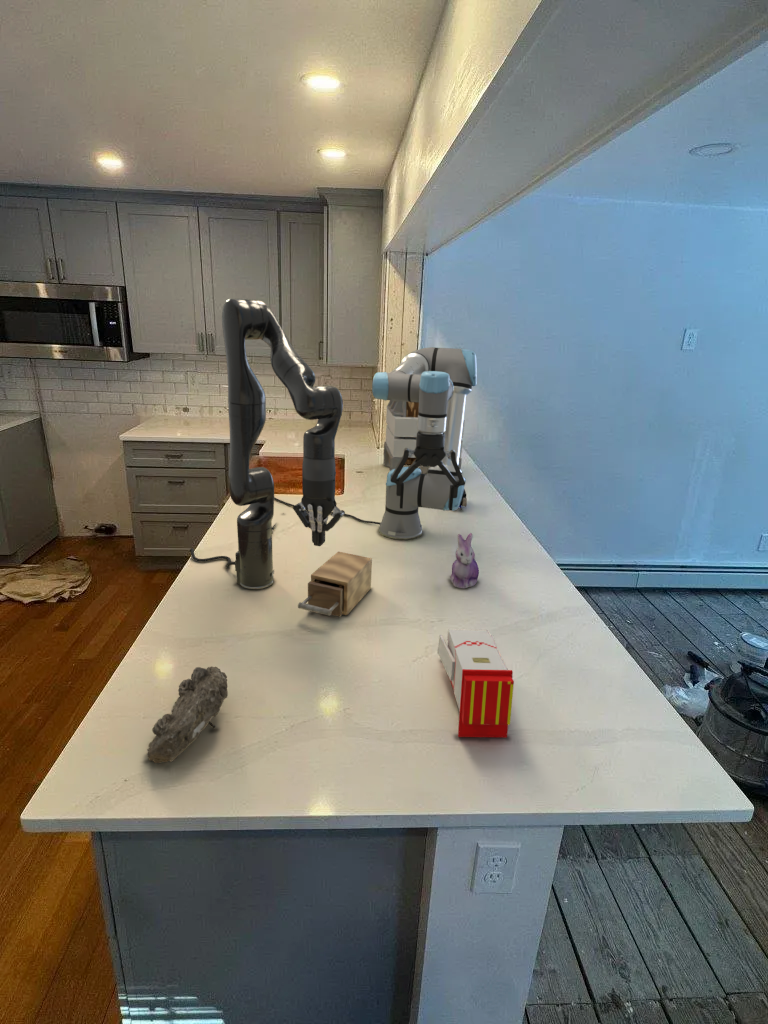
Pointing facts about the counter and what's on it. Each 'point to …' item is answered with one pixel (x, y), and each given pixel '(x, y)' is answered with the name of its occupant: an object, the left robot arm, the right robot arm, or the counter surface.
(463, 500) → the figurine character
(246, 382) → the left robot arm
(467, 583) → the figurine
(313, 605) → the drawer
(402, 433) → the grey slatted crate
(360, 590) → the cabinet
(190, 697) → the fossil
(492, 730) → the toy
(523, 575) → the counter surface
